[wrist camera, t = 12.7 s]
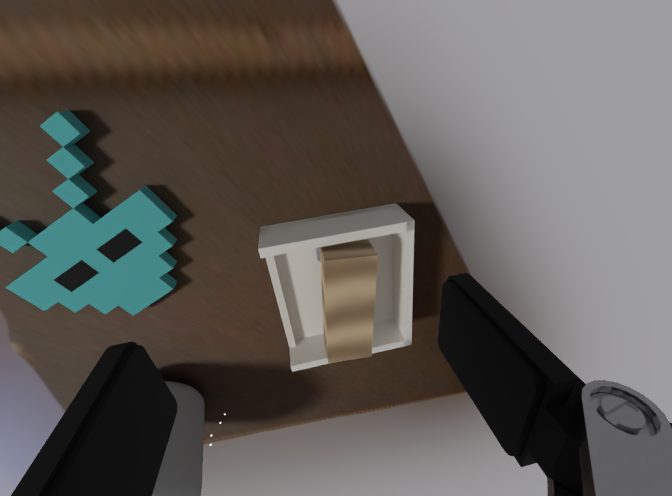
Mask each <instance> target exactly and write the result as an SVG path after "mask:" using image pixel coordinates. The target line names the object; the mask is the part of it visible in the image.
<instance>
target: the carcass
mask: <svg viewBox="0 0 672 496" xmlns="http://www.w3.org/2000/svg"><path fill="white" fill-rule="evenodd" d="M414 226H415V220H414V219H412V218H411V217H410V216H409V215H408V214H407V213H406V212H405V211H404V210H403V209H402V208H401V207H400V206H399V205H398V204H396V203H394V204H388V205H383V206H377V207H371V208H365V209H359V210H354V211H348V212H342V213H336V214H331V215H325V216H319V217H313V218H308V219H302V220H296V221H290V222H285V223H279V224H273V225H267V226H262V227H260V236H259V246H258V250H259V254H260V257H261V258H265V257H266V261H267V265H268V269H269V272H270V276H271V280H272V284H273V287H274V291H275V295H276V299H277V302H278V306H279V310H280V314H281V317H282V321H283V325H284V329H285V333H286V336H287V340H288V344H289V348H290V365H291V370H292V372H294V371H298V370H302V369H307V368H311V367H316V366H320V365H324V364H329V363H328V359H327V354H326V348H325V343H324V329H323V306H322V284H321V262H320V247H324V246H330V245H335V244H340V243H346V242H351V241H357V240H367V239H368V240H369V242H370V243H371V245H372V246H373V248H374V250H375V251H376V253H377V254H378V263H377V279H376V294H375V310H374V326H373V342H372V354H373V353H377V352H381V351H386V350H390V349H394V348H399V347H403V346H408V345H411V343H412V304H413V265H414Z"/></svg>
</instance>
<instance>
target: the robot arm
mask: <svg viewBox="0 0 672 496" xmlns="http://www.w3.org/2000/svg"><path fill="white" fill-rule="evenodd" d="M438 344H439V347H440V350H441V352H442V353H443V355H444V356H445V358H446V360H447V361H448V363H449V364H450V366H451V367H452V369H453V371H454V372H455V374H456V375H457V377H458V378H459V380H460V382H461V383H462V385H463V386H464V388H465V389H466V391H467V393H468V394H469V396H470V397H471V399H472V400H473V402H474V404H475V405H476V407H477V408H478V410H479V411H480V413H481V414H482V416H483V418H484V419H485V421H486V422H487V424H488V425H489V427H490V429H491V430H492V432H493V433H494V435H495V436H496V438H497V440H498V441H499V443H500V444H501V446H502V448H503V449H504V450H505V452H506V453H507V454H508V455H510V456H514V457H515V458H516V460H517V462H518V463H519V465H520V466H521V467H523V466H526V465H530V464H534V463H538V465H539V466H540V467H541V469H542V470H543V472H544V473H545V475H546V476H547V483H548V496H672V423H669V421H668V420H667V418H666V416H665V414H664V413H663V412H662V411H661V410H660V409H659V408H658V407H657V406H656V405H655V404H654V403H653V402H652V401H650V400H649V399H648V398H646V397H645V396H644V395H642V394H640V393H639V392H637V391H635V390H633V389H631V388H629V387H627V386H624V385H621V384H618V383H615V382H610V381H605V380H603V381H593V382H590V383H587V384H585V383H584V382H583V381H582V380H581V379H580V378H579V377H577V376H576V375H575V374H574V373H573V372H572V371H571V370H570V369H569V368H568V367H567V366H566V365H565V364H564V363H563V362H561V360H559V359H558V358H557V357H556V356H555V355H554V354H553V353H552V352H551V351H550V350H549V349H548V348H547V347H546V346H545V345H544V344H542V343H541V341H539V340H538V339H537V338H536V337H535V336H534V335H533V334H532V333H531V332H530V331H529V330H528V329H527V328H526V327H525V326H524V325H523V324H521V323H520V322H519V321H518V320H517V319H516V318H515V317H514V316H513V315H512V314H511V313H510V312H509V311H508V310H506V309H505V308H504V307H503V306H502V305H501V304H500V303H499V302H498V301H497V300H496V299H495V298H494V297H493V296H492V295H491V294H489V292H487V291H486V290H485V289H484V288H483V287H482V286H481V285H480V284H479V283H478V282H477V281H476V280H475V279H474V278H473V277H472V276H471V275H469V274H468V273H463V274H459V275H454V276H450V277H448V279H447V282H444V283H443V289H442V300H441V312H440V323H439V335H438ZM177 408H178V407H177V401H176V399H175V397H174V396H173V394H172V393H171V391H170V389H169V388H168V386H167V384H166V383H165V381H164V380H163V378H162V376H161V375H160V373H159V371H158V370H157V368H156V367H155V365H154V363H153V362H152V360H151V358H150V357H149V355H148V354H147V352H146V350H145V349H144V347H143V346H141V345H137V344H136V343H135V342H128V343H123V344H118V345H113V346H110V347H108V348H107V349H106V350H105V352H104V353H103V355H102V356H101V358H100V359H99V361H98V363H97V364H96V366H95V367H94V369H93V370H92V372H91V373H90V375H89V376H88V378H87V379H86V381H85V383H84V384H83V386H82V387H81V389H80V390H79V392H78V393H77V395H76V396H75V398H74V399H73V401H72V403H71V404H70V406H69V407H68V409H67V410H66V412H65V413H64V415H63V417H62V418H61V420H60V421H59V423H58V425H57V426H56V427H55V429H54V430H53V432H52V433H51V435H50V436H49V438H48V439H47V441H46V443H45V444H44V446H43V447H42V449H41V450H40V452H39V453H38V455H37V456H36V458H35V460H34V461H33V463H32V464H31V466H30V467H29V469H28V470H27V472H26V473H25V475H24V476H23V478H22V479H21V481H20V483H19V484H18V486H17V487H16V489H15V490H14V492H13V493H12V495H11V496H152V494H153V490H154V487H155V484H156V481H157V477H158V474H159V471H160V467H161V464H162V461H163V457H164V454H165V451H166V447H167V444H168V441H169V438H170V434H171V431H172V428H173V424H174V421H175V418H176V414H177Z"/></svg>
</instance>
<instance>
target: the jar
mask: <svg viewBox="0 0 672 496" xmlns="http://www.w3.org/2000/svg"><path fill="white" fill-rule="evenodd" d="M165 383H166V384H167V386H168V388H169V389H170V391H171V393H172V394H173V396H174V397H175V399H176V401H177V407H178V408H177V414H176V418H175V421H174V424H173V428H172V431H171V434H170V438H169V441H168V444H167V447H166V451H165V454H164V457H163V461H162V464H161V467H160V471H159V474H158V477H157V481H156V484H155V487H154V490H153V494H152V496H200V495H201V488H202V462H203V436H204V409H205V406H204V399H203V397H202V396H201V394H200V393H199V392H198V391H197V390H196V389H195V388H193V387H191V386H189V385H186V384H182V383H178V382H172V381H165ZM224 415H226V413H225V414H224ZM219 424H221V422H220V423H219ZM211 437H212V435H211ZM210 446H211V444H210Z"/></svg>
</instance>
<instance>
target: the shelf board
mask: <svg viewBox="0 0 672 496" xmlns="http://www.w3.org/2000/svg"><path fill="white" fill-rule="evenodd" d="M320 262H321V284H322V306H323V329H324V343H325V348H326V354H327V359H328V363H333V362H339V361H345V360H352V359H358V358H364V357H370V356H372V342H373V326H374V310H375V294H376V279H377V263H378V254H377V253H376V251H375V250H374V248H373V246H372V245H371V243H370V242H369V240H368V239H367V240H357V241H351V242H346V243H340V244H335V245H330V246H324V247H320Z"/></svg>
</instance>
